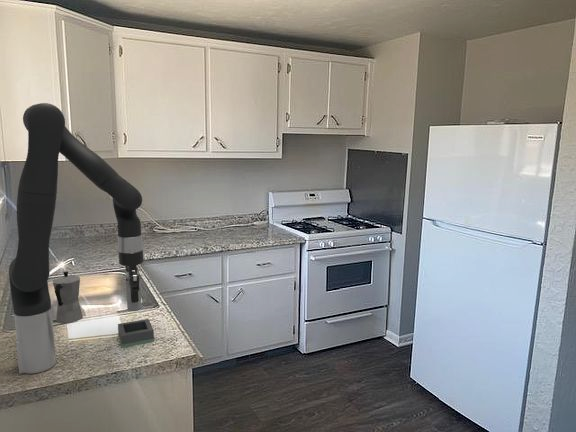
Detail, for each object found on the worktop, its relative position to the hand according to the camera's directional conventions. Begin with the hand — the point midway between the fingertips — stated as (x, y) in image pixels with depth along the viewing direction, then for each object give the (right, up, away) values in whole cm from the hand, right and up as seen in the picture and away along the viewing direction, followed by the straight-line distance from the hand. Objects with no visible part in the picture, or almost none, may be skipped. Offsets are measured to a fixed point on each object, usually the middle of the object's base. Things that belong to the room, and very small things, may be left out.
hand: (133, 299), depth 141 cm
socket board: (0, -14, +3) cm, 14 cm away
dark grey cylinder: (0, -3, +1) cm, 4 cm away
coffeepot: (-30, -11, +16) cm, 36 cm away
